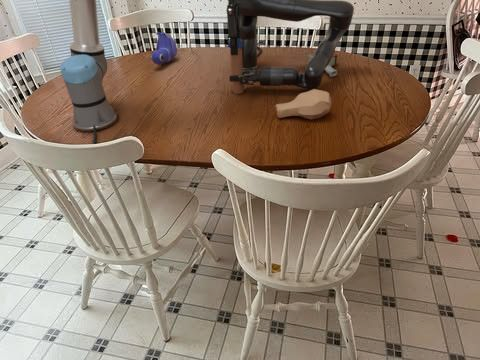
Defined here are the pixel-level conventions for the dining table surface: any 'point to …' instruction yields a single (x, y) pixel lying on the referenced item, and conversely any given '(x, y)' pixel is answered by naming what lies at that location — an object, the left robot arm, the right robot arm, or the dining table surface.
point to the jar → (237, 71)
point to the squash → (306, 105)
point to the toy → (164, 49)
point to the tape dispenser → (329, 65)
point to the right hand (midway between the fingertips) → (231, 76)
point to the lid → (239, 42)
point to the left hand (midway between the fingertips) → (235, 52)
